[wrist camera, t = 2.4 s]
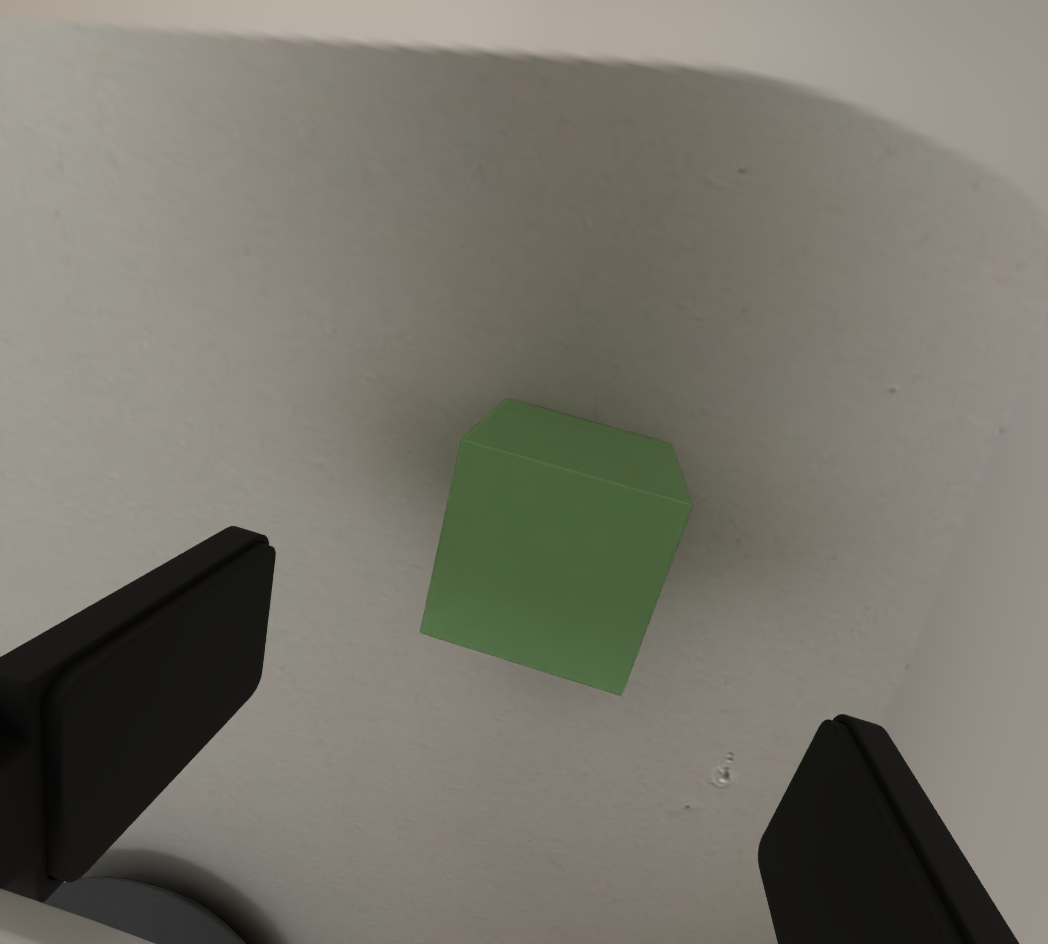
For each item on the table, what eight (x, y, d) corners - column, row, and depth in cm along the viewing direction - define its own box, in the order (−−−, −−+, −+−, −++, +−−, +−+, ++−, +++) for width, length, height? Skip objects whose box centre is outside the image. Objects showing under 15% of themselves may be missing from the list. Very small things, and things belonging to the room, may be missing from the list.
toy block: (505, 397, 17) (460, 438, 12) (672, 443, 16) (693, 504, 12) (470, 545, 18) (419, 633, 14) (621, 590, 18) (621, 697, 13)
